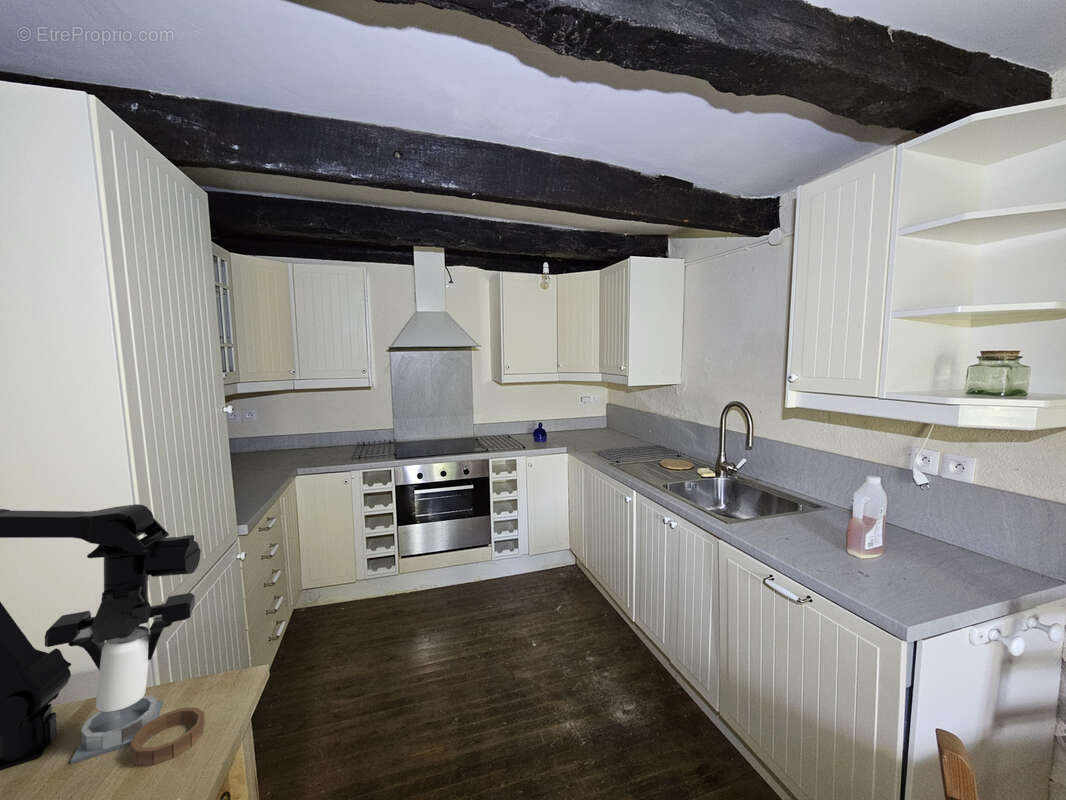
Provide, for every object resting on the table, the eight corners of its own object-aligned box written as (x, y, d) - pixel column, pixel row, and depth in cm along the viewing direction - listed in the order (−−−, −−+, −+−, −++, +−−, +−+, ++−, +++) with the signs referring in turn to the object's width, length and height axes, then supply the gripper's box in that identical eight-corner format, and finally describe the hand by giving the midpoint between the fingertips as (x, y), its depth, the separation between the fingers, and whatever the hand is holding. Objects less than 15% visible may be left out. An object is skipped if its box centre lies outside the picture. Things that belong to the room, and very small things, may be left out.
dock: (70, 764, 71) (70, 746, 71) (92, 723, 79) (92, 707, 79) (150, 738, 76) (149, 722, 76) (163, 702, 85) (162, 688, 84)
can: (85, 715, 73) (92, 645, 73) (111, 689, 79) (118, 624, 79) (130, 712, 74) (138, 644, 74) (153, 687, 81) (160, 624, 81)
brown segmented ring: (124, 775, 69) (123, 760, 69) (140, 733, 77) (140, 720, 77) (199, 749, 74) (199, 735, 74) (207, 712, 82) (206, 700, 82)
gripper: (26, 611, 65) (27, 713, 65) (183, 585, 74) (184, 674, 74) (59, 582, 74) (60, 670, 75) (195, 562, 84) (195, 640, 84)
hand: (126, 664), depth 77 cm, fingers closed on can, 6 cm apart
